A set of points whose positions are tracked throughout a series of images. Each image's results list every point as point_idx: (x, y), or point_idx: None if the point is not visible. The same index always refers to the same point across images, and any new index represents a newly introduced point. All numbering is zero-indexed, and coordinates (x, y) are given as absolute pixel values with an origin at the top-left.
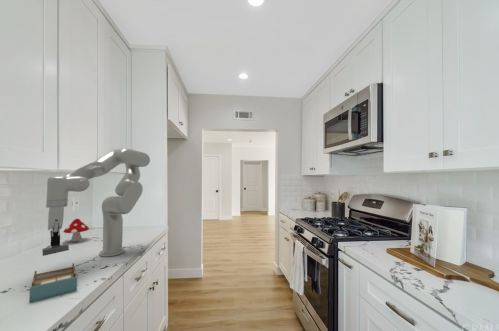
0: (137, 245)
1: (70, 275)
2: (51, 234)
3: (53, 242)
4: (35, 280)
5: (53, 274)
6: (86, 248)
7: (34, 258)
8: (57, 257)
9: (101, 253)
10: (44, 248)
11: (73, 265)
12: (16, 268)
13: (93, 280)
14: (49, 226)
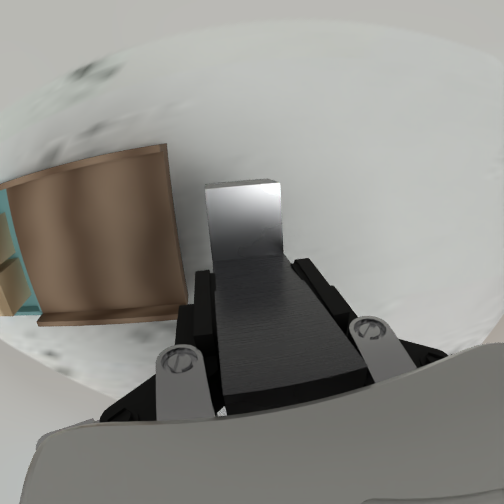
0: None
1: (2, 315)
2: (220, 362)
3: (178, 315)
4: (66, 171)
5: (109, 235)
6: (467, 299)
7: (482, 133)
8: (448, 210)
9: None
10: (268, 198)
11: (147, 319)
12: (404, 63)
13: (55, 350)
14: (26, 500)
